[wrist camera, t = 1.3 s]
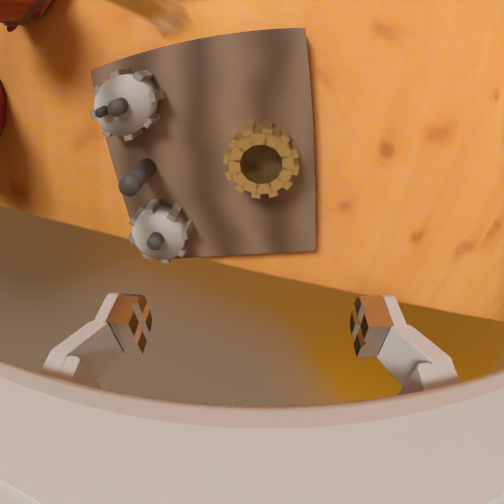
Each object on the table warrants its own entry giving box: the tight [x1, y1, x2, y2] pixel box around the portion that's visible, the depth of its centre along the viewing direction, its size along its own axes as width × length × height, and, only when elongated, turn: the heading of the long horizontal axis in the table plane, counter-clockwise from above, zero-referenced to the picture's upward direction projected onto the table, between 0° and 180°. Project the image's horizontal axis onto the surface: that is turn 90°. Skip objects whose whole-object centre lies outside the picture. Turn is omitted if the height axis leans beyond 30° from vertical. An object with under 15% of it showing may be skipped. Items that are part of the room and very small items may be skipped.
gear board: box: [90, 28, 316, 264], centre depth 27 cm, size 21×24×7 cm
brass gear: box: [223, 120, 299, 199], centre depth 27 cm, size 6×6×4 cm
